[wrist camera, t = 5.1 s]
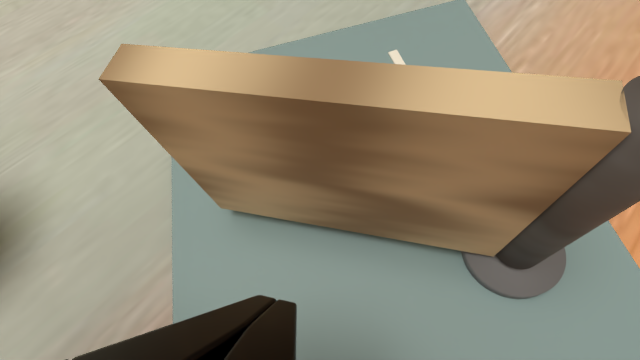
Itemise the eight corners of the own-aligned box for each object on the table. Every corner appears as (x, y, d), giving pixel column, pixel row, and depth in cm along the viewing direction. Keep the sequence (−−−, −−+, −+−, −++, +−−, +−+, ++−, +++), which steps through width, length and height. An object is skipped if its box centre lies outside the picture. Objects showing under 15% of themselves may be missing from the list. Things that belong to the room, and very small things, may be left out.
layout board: (743, 445, 11) (775, 451, 10) (180, 576, 11) (164, 594, 10) (462, 4, 22) (466, -12, 21) (174, 76, 22) (166, 64, 21)
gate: (541, 227, 14) (726, 76, 7) (544, 273, 13) (755, 159, 6) (231, 178, 16) (126, 35, 9) (218, 214, 16) (92, 88, 9)
